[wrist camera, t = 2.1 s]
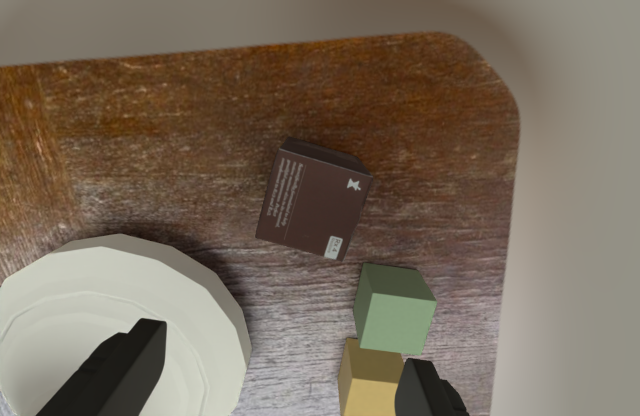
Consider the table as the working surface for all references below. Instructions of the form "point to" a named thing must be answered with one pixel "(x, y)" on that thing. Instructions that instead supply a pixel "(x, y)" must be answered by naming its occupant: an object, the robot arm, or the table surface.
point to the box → (313, 199)
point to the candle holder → (121, 324)
